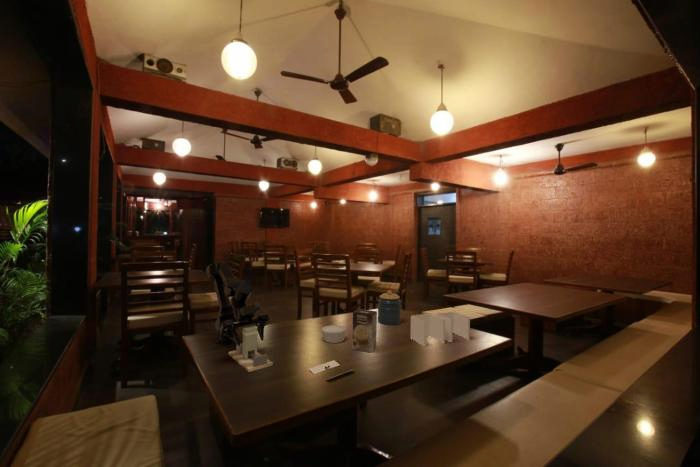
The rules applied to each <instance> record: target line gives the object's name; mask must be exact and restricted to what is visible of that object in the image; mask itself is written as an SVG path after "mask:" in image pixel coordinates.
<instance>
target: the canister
mask: <svg viewBox="0 0 700 467" xmlns="http://www.w3.org/2000/svg"><path fill="white" fill-rule="evenodd" d="M378 297H379V299H378V300H377V302H378V305H377V322H378V323H379V324H382V325H387V326H392V325H393V326H394V325H395V326H396V325H399V324H401V322H402V316H401V315H402V306H401V303H402V299H400V295H398V293H394V292H392V290H387V292H385V293H382V294H381V295H379V296H378Z"/></svg>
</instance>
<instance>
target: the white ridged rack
mask: <svg viewBox="0 0 700 467" xmlns="http://www.w3.org/2000/svg"><path fill="white" fill-rule="evenodd" d="M235 344H236V343H235ZM235 349H236V352H237V353H239V354H243V342H240V346H238V345H237V344H236V347H235ZM248 355H250V356H251V357H252V358H253V367H257V366H260V365H264V364H267V359H268V354H267V353H266V354H265V353H264V354H261V356H256V355H254V354H253V353H251V351H248Z"/></svg>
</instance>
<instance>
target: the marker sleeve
mask: <svg viewBox="0 0 700 467" xmlns="http://www.w3.org/2000/svg"><path fill="white" fill-rule="evenodd" d="M242 343H243V357H244V358H245V359H248V351H251V350H252V351H251V353H253V354H254V355H256V356H257V352H258V331H257V326H256V325H250V326H244V327H243V328H242Z"/></svg>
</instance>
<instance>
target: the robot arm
mask: <svg viewBox="0 0 700 467" xmlns="http://www.w3.org/2000/svg"><path fill="white" fill-rule="evenodd" d="M205 272H206V275H207V277H208V279H209V280H210V281H211V282H212V283H213V284H214V286H213V287H214V289H215V295H216V297H217V302H218V306H219V312H218V314H217V318H216V320H215V323H214V327H215V329H216V330H217V333H218V334H217V335H218V338H217V339H218V340H216V341H215V343H216V344H222V345H229V344H232V343H234V344H237V345H238V346H240V343H241V342H240V339H239V335H238V333H237V328H241V327H248V326H253V325H255V327H257V335H258V336H259V338H260V340H261V342H263V341H264V338H265V335H264V334H265V326H267V325H268V323H269V321H270V320H271V317H270V314H268V313H263V314H262V313H261V314H259V315H258V316H257V318H254V317H255V314H256V313H257V312H259V311H260V310H261V307H260V305H259V302H254V303H253V304H251V305H248V303H247V301H249V299H250V297H251V294H252V293H253V290H254V287H253V285H252V284H251V283H249V282H247V281H246V280H245V279H244V280H240V279H238V278H236V276H235V275H234V273H233V271H232V270H231V268H230V266H229V262H227V261H217V262H215V263H212V264H208V265H207V266H206V268H205ZM231 297H232V298H231ZM230 298H231V299H230Z"/></svg>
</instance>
